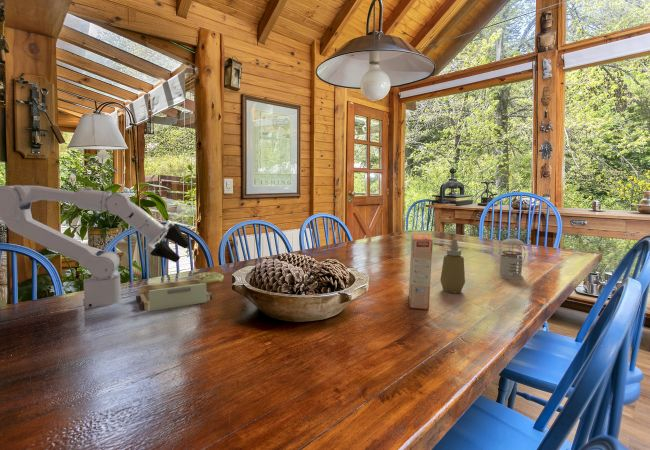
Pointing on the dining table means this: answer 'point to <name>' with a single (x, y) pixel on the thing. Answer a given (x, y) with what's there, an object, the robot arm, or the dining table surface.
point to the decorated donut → (209, 277)
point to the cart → (144, 290)
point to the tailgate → (177, 296)
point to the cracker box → (420, 270)
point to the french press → (511, 260)
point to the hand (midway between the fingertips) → (182, 252)
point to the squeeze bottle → (453, 270)
